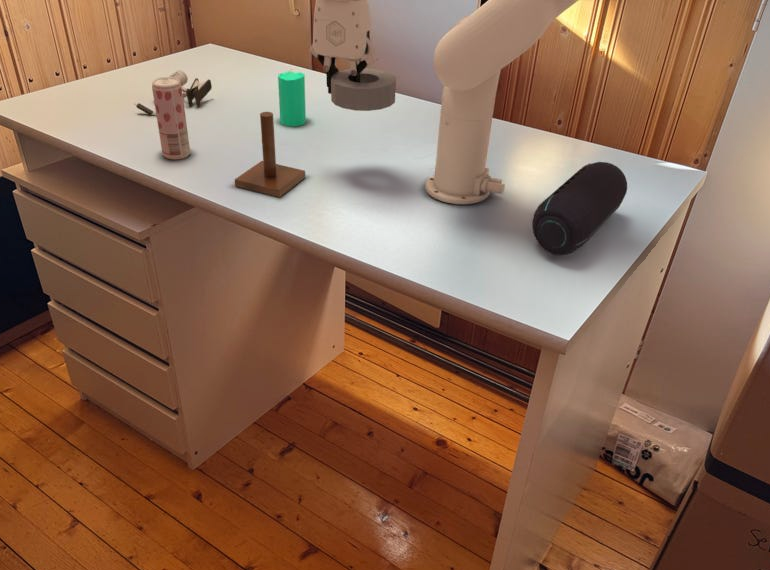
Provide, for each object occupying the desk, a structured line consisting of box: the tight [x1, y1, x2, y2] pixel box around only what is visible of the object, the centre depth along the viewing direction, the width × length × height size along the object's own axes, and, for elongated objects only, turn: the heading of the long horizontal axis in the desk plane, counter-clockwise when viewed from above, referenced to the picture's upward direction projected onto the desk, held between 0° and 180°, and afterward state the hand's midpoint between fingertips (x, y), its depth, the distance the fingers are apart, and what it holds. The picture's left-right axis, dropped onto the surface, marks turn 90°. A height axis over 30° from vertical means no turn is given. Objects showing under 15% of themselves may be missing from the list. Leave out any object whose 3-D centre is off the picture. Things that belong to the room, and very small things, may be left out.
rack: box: [234, 111, 306, 198], centre depth 136 cm, size 10×10×14 cm
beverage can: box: [151, 76, 191, 160], centre depth 144 cm, size 6×6×15 cm
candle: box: [277, 70, 307, 127], centre depth 161 cm, size 6×6×12 cm
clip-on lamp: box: [133, 69, 213, 116], centre depth 169 cm, size 12×6×18 cm
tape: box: [330, 67, 397, 112], centre depth 133 cm, size 12×12×4 cm
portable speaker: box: [531, 161, 628, 256], centre depth 125 cm, size 25×10×10 cm, turn 145°
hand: (343, 92), depth 136 cm, fingers closed on tape, 3 cm apart
